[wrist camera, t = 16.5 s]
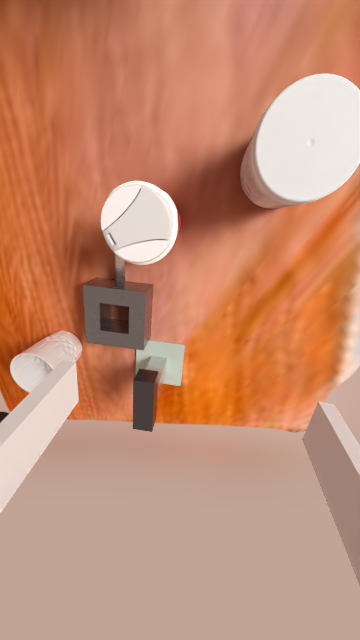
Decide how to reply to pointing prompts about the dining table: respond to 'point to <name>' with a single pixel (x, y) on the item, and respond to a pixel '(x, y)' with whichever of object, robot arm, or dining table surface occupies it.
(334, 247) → the dining table surface
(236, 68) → the dining table surface
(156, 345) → the mat
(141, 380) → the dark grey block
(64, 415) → the robot arm
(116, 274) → the block
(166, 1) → the dining table surface
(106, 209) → the coffee cup
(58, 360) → the white cup
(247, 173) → the supplement tub
